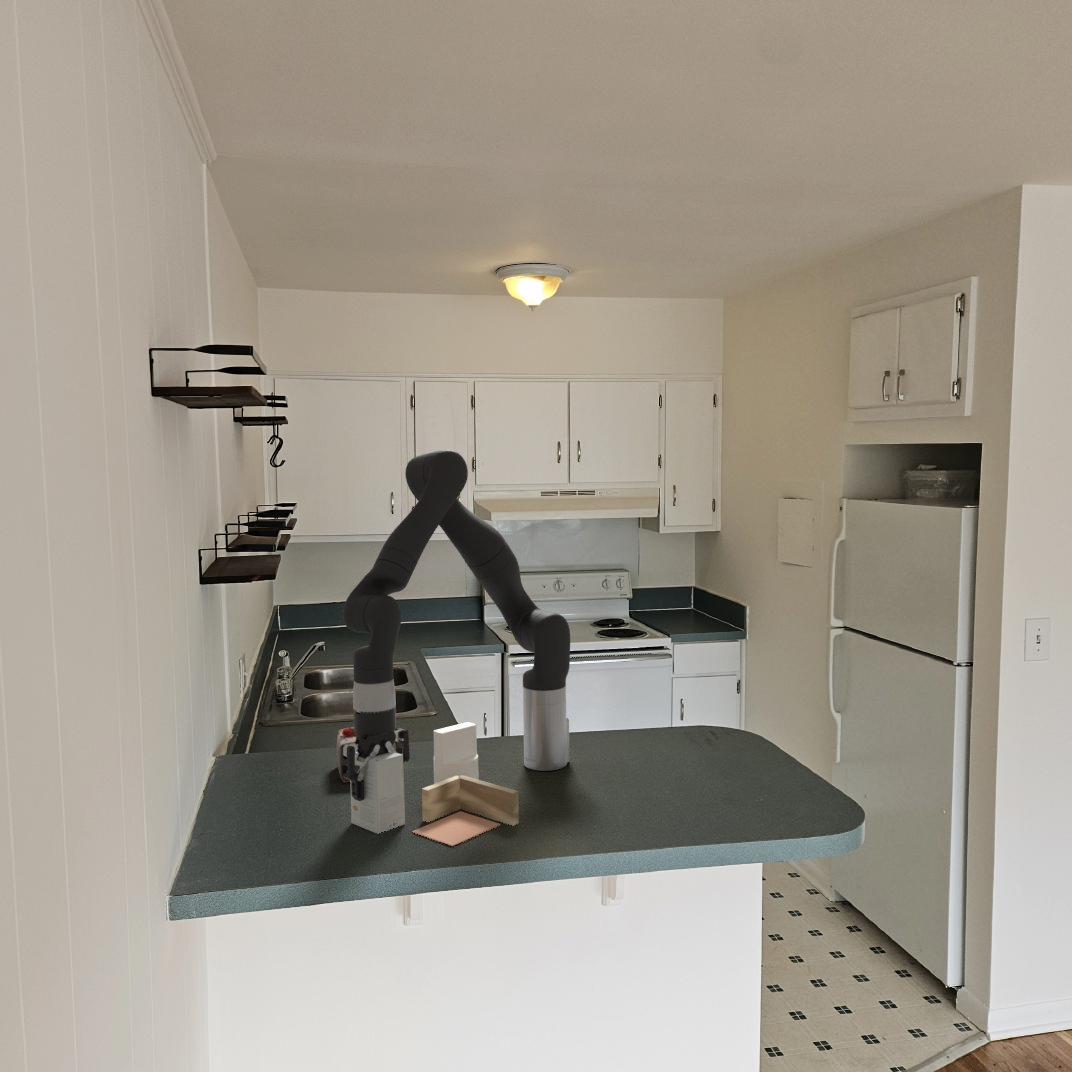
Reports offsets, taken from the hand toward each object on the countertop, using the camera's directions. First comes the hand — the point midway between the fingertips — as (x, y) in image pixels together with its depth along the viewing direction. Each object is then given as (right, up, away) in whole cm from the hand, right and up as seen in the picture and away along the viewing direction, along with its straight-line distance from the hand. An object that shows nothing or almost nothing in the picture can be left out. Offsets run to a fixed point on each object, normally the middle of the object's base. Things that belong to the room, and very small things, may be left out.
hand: (376, 793), depth 168 cm
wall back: (+20, -5, +4) cm, 21 cm away
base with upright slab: (+13, -4, +20) cm, 24 cm away
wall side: (+12, -5, +5) cm, 13 cm away
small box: (0, -6, 0) cm, 6 cm away
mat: (+15, -6, -3) cm, 16 cm away
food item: (-9, -4, +29) cm, 31 cm away
